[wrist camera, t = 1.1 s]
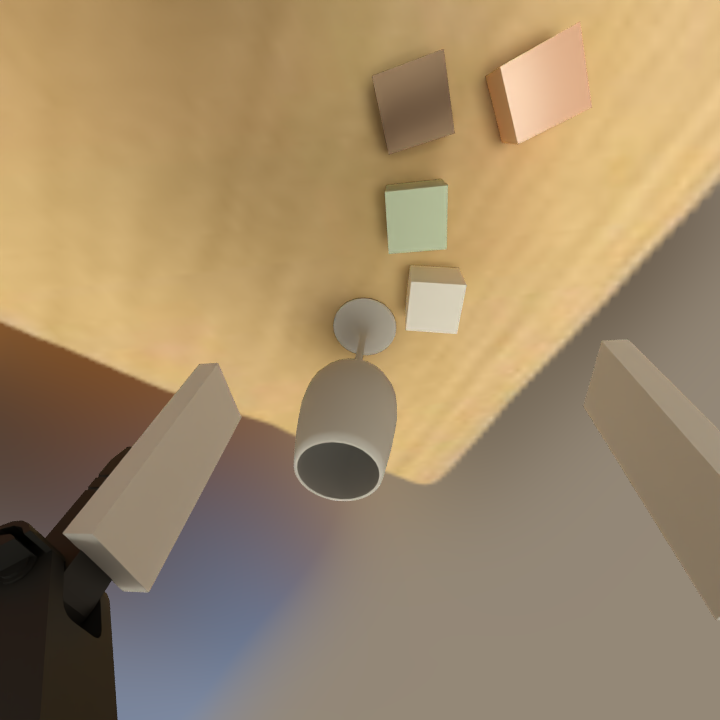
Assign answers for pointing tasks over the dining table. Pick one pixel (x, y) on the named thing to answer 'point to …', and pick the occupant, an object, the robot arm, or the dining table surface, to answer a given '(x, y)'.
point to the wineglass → (349, 410)
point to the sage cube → (416, 216)
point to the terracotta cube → (541, 87)
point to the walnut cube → (414, 102)
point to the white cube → (434, 299)
